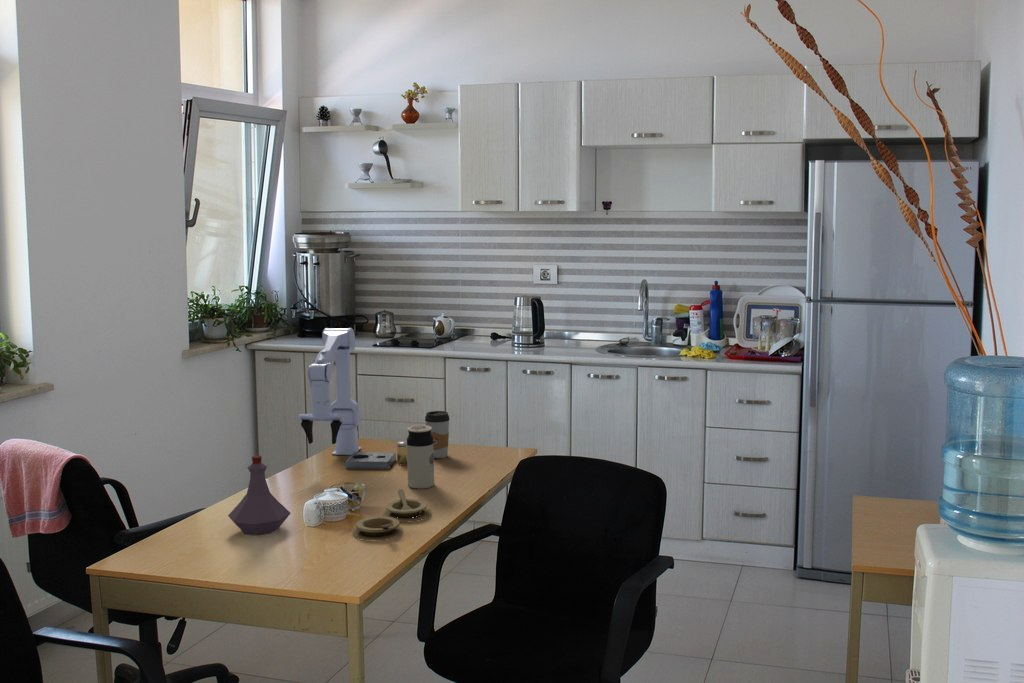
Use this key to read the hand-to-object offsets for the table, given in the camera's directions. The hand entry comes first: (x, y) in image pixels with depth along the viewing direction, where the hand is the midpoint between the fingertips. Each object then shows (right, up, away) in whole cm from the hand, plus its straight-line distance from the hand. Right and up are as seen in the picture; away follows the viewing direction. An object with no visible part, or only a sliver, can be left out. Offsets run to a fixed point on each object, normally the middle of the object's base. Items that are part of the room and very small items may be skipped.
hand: (322, 443), depth 327 cm
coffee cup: (+35, -7, +21) cm, 42 cm away
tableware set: (+28, -18, -49) cm, 59 cm away
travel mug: (+33, -12, -13) cm, 37 cm away
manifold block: (+14, -8, +13) cm, 20 cm away
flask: (-7, -18, -53) cm, 56 cm away
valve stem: (+24, -8, +14) cm, 29 cm away
